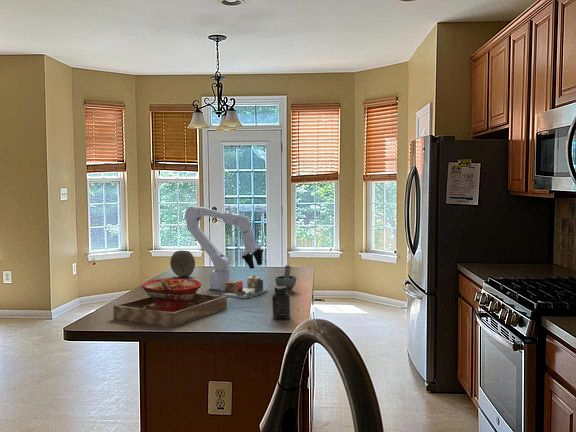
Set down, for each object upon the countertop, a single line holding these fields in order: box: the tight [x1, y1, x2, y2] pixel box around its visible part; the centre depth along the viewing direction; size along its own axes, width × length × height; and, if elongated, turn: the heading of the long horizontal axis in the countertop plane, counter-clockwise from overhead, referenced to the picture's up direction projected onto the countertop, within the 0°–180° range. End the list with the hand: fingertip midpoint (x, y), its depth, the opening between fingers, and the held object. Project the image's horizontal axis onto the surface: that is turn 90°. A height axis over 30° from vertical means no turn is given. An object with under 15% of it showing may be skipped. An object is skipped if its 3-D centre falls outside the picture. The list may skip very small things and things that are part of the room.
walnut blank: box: [225, 280, 237, 294], centre depth 256 cm, size 5×4×5 cm
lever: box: [235, 280, 245, 295], centre depth 245 cm, size 4×3×6 cm
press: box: [233, 278, 268, 297], centre depth 254 cm, size 11×12×7 cm
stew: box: [141, 277, 202, 312], centre depth 214 cm, size 28×24×16 cm
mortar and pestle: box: [275, 265, 297, 294], centre depth 257 cm, size 11×9×12 cm
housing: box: [246, 275, 262, 288], centre depth 266 cm, size 5×4×6 cm
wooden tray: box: [112, 292, 228, 328], centre depth 215 cm, size 29×33×5 cm
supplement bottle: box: [271, 285, 291, 321], centre depth 205 cm, size 7×7×12 cm
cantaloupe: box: [169, 250, 196, 278], centre depth 301 cm, size 14×14×15 cm
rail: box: [219, 290, 253, 300], centre depth 246 cm, size 15×3×2 cm, turn 62°
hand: (256, 266), depth 264 cm, fingers open, 7 cm apart
